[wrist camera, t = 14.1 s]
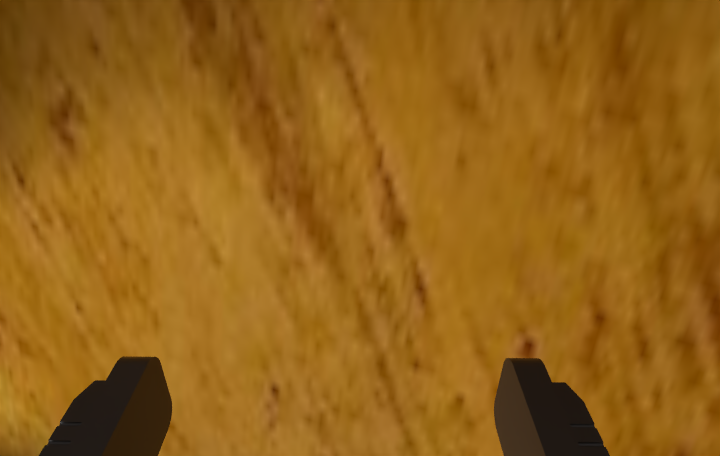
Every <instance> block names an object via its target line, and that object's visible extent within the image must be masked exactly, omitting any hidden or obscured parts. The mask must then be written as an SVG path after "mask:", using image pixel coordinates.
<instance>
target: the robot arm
mask: <svg viewBox="0 0 720 456" xmlns="http://www.w3.org/2000/svg"><path fill="white" fill-rule="evenodd" d="M171 415H172V401H171V397H170V393H169V390H168V387H167V383H166V380H165V376H164V373H163V370H162V366H161V363H160V360H159V359H158V358H157V357H121V358H120V359H119V360H118V361H117V363H116V364H115V366H114V368H113V369H112V371H111V373H110V374H109V376H108V378H107V380H106V381H94V382H93V383H92V384H91V385H89V386H88V387H87V388H86V389H85V390H84V391H83V392H82V393H81V394H79V395H78V396H77V397H76V398H75V399H74V400H73V402H72V403H71V405H70V407H69V408H68V410H67V411H66V413H65V415H64V416H63V418H62V419H61V421H60V425H59V426H57V427H56V429H55V431H54V432H53V434H52V435H51V437H50V439H49V440H48V441H49V443H48V445H45V447H44V448H43V450H42V451H41V453H40V455H39V456H158V454H159V451H160V448H161V446H162V443H163V441H164V438H165V436H166V433H167V431H168V428H169V425H170V421H171ZM494 416H495V424H496V429H497V433H498V436H499V440H500V443H501V447H502V450H503V454H504V456H610V455H609V453H608V451H607V449H606V447H604V446H603V441H602V439H601V436H600V434H599V432H598V430H597V428H595V427H594V422H593V420H592V418H591V416H590V414H589V412H588V410H587V408H586V406H585V403H584V402H583V401H582V399H581V398H580V397H579V396H578V395H577V394H576V393H575V392H574V391H573V390H572V389H571V388H570V387H569V386H568V385H567V384H566V383H552V382H551V379H550V377H549V375H548V372H547V370H546V368H545V365H544V363H543V362H542V361H541V360H540V359H537V358H507V359H505V361H504V364H503V368H502V372H501V377H500V381H499V385H498V389H497V394H496V398H495V404H494Z"/></svg>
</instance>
